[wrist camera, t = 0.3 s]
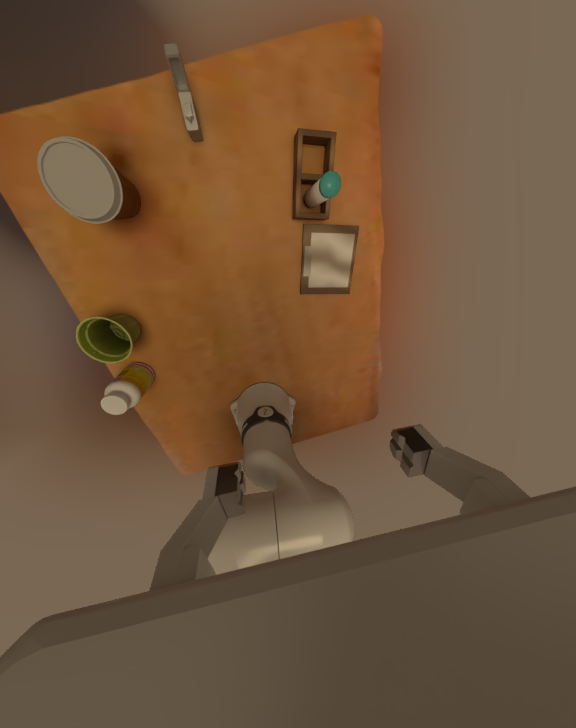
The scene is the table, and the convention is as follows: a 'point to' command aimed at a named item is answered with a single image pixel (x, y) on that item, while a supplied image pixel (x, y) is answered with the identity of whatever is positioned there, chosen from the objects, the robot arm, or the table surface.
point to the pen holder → (300, 178)
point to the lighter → (183, 91)
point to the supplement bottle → (127, 388)
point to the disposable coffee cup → (85, 181)
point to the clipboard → (327, 258)
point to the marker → (323, 189)
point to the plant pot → (108, 337)
